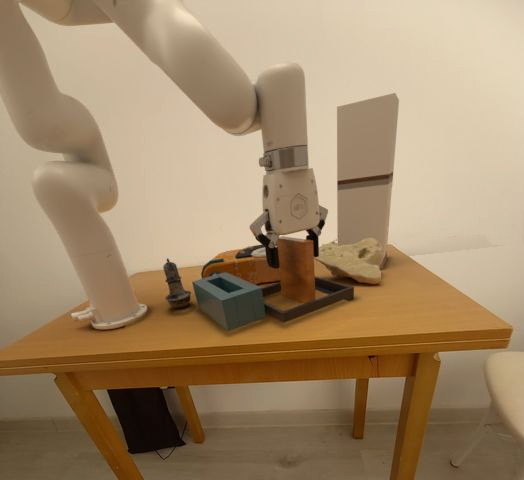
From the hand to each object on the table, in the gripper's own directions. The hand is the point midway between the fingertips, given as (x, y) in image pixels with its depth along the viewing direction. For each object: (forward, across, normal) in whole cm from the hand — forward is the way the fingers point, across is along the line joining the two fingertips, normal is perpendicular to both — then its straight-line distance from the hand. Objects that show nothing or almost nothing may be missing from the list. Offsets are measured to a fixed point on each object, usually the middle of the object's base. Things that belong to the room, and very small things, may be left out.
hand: (294, 261), depth 60 cm
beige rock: (+9, +16, +2) cm, 18 cm away
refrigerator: (+9, +29, +9) cm, 32 cm away
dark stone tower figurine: (+9, -21, +17) cm, 28 cm away
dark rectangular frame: (+9, 0, 0) cm, 9 cm away
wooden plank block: (+8, 0, 0) cm, 8 cm away
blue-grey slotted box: (+9, -14, +5) cm, 17 cm away
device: (+9, +5, +24) cm, 26 cm away
